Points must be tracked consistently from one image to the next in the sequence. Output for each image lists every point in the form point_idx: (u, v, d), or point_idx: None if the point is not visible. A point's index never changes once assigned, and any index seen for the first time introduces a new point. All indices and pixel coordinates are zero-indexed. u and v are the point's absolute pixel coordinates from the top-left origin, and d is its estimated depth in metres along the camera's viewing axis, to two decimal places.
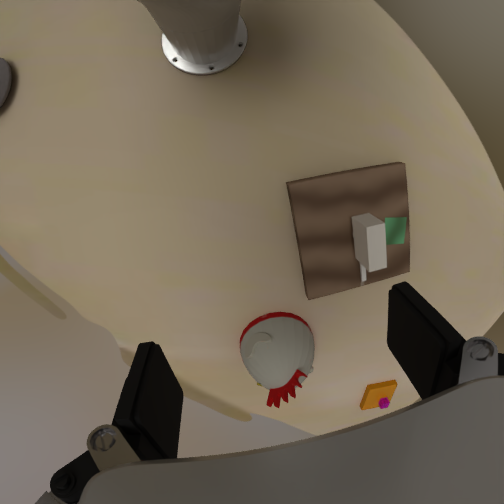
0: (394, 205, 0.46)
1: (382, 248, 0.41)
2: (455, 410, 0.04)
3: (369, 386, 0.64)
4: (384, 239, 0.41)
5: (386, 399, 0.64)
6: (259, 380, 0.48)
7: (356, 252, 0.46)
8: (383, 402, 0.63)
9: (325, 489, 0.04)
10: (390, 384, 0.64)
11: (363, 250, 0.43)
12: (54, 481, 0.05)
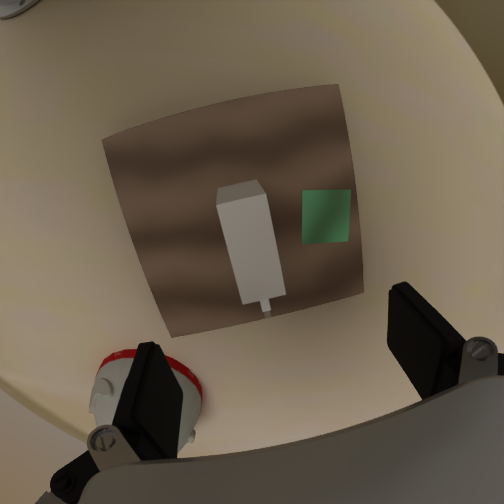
0: (321, 165, 0.24)
1: (268, 254, 0.19)
2: (456, 411, 0.04)
3: None
4: (270, 232, 0.19)
5: None
6: None
7: None
8: None
9: (325, 489, 0.04)
10: None
11: None
12: (53, 481, 0.05)
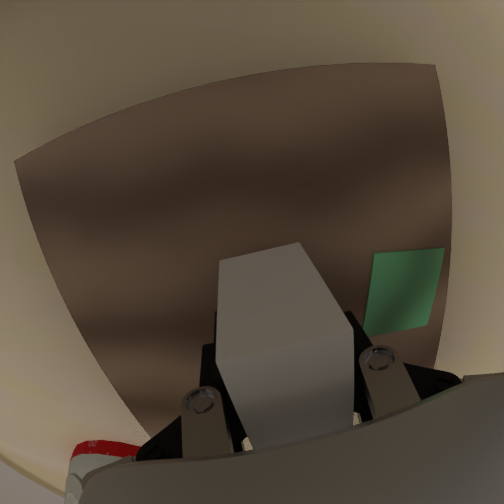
0: (407, 209, 0.13)
1: (332, 431, 0.08)
2: (456, 410, 0.04)
3: None
4: (345, 401, 0.07)
5: None
6: None
7: None
8: None
9: (325, 489, 0.04)
10: None
11: None
12: (143, 456, 0.06)
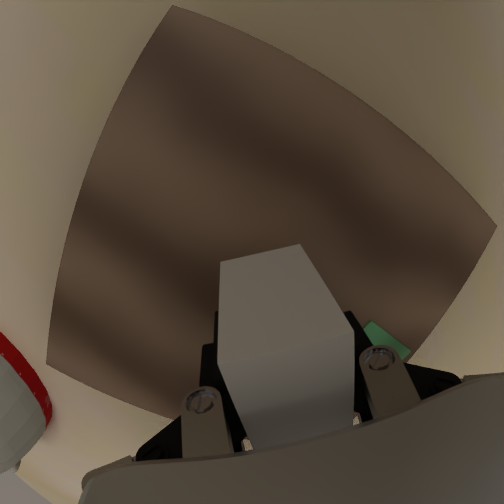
0: (413, 305, 0.15)
1: None
2: (456, 410, 0.04)
3: None
4: (345, 402, 0.07)
5: None
6: None
7: None
8: None
9: (325, 489, 0.04)
10: None
11: None
12: (142, 456, 0.06)
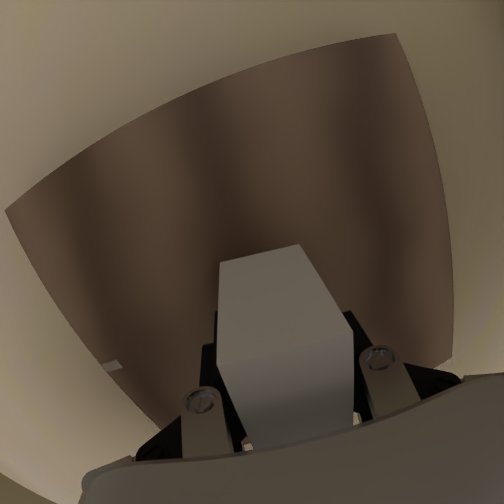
0: None
1: None
2: (456, 411, 0.04)
3: None
4: (345, 402, 0.07)
5: None
6: None
7: None
8: None
9: (325, 489, 0.04)
10: None
11: None
12: (143, 456, 0.06)
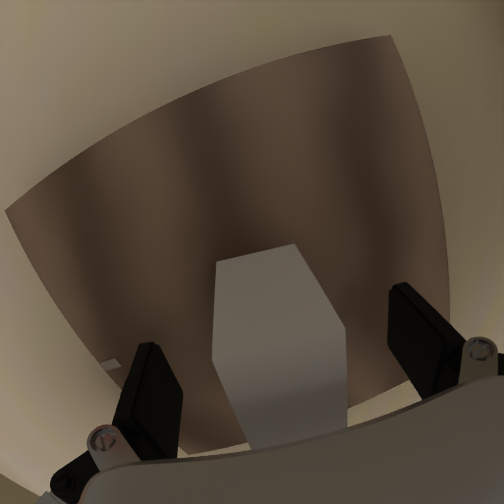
0: (358, 376, 0.17)
1: (327, 428, 0.08)
2: (455, 410, 0.04)
3: None
4: (339, 398, 0.07)
5: None
6: None
7: None
8: None
9: (325, 489, 0.04)
10: None
11: None
12: (54, 481, 0.05)
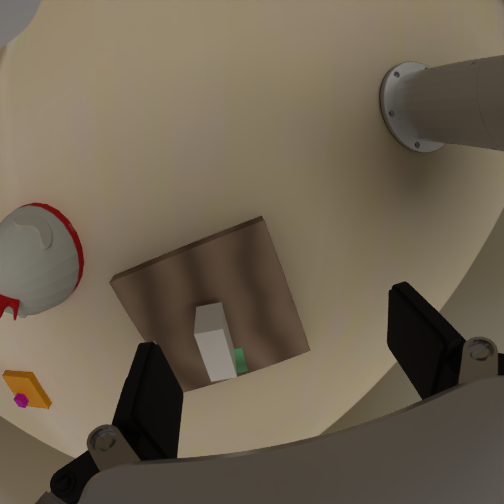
0: (258, 353, 0.40)
1: (225, 358, 0.31)
2: (455, 410, 0.04)
3: (32, 375, 0.40)
4: (225, 347, 0.31)
5: (26, 401, 0.40)
6: None
7: None
8: (21, 400, 0.39)
9: (325, 489, 0.04)
10: (44, 400, 0.41)
11: None
12: (54, 481, 0.05)
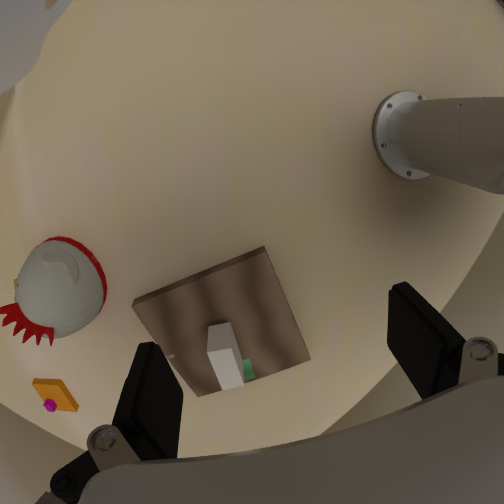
0: (264, 363, 0.45)
1: (234, 371, 0.36)
2: (456, 410, 0.04)
3: (61, 383, 0.47)
4: (234, 362, 0.36)
5: (55, 406, 0.47)
6: (21, 284, 0.30)
7: None
8: (51, 405, 0.46)
9: (325, 489, 0.04)
10: (72, 404, 0.48)
11: None
12: (54, 481, 0.05)
